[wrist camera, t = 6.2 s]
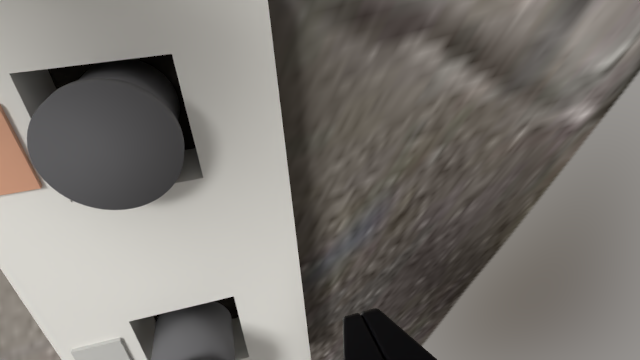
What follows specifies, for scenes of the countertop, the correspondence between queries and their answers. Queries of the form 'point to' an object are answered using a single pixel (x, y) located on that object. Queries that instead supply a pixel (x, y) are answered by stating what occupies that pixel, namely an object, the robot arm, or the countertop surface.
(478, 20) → the countertop surface
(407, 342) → the robot arm
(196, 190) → the panel
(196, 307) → the far button
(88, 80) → the near button
